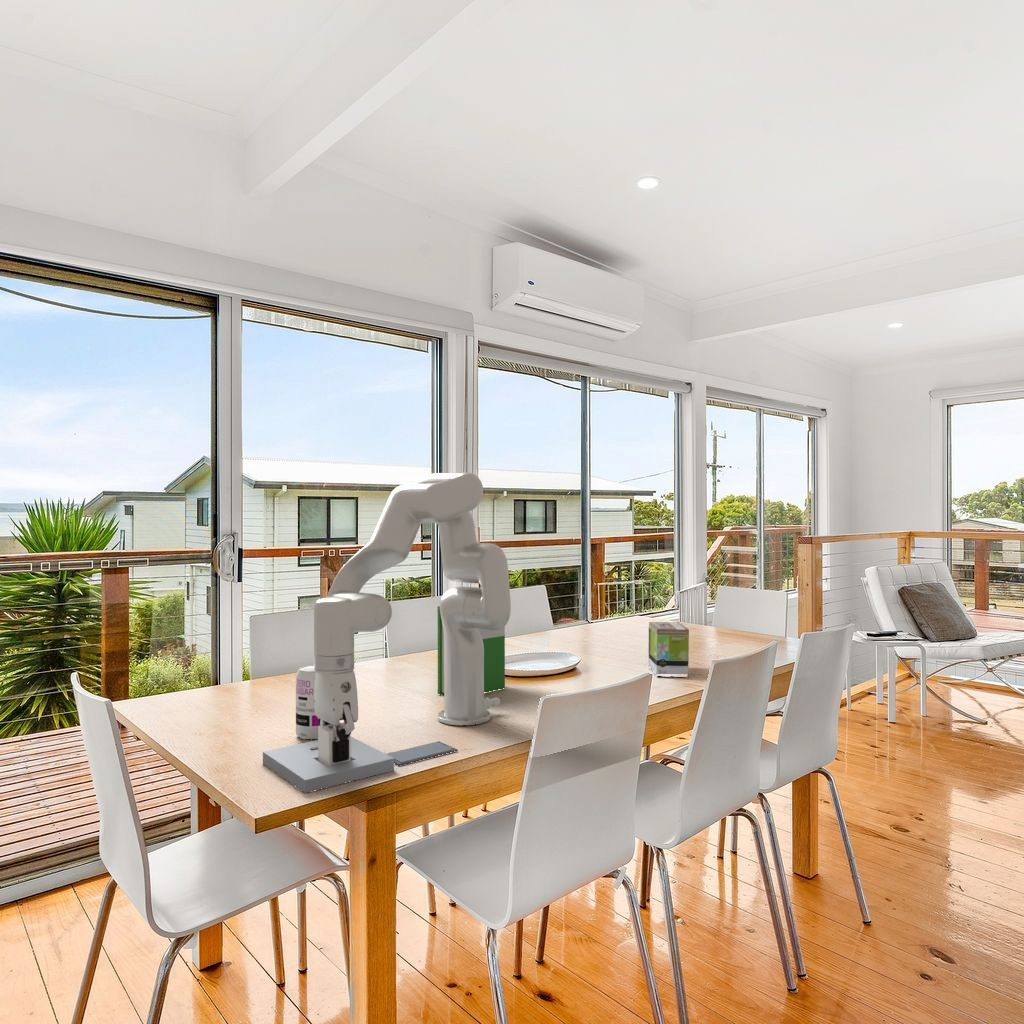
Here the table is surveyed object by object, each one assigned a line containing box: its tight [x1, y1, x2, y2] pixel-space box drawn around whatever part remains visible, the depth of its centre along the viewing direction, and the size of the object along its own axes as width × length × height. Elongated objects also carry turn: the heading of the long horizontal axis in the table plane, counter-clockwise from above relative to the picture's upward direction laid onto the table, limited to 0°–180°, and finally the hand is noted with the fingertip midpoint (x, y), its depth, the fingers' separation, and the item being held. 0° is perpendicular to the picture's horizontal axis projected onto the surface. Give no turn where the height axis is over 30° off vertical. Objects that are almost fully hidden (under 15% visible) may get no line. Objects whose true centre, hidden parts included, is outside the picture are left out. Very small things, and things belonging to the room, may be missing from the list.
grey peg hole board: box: [262, 735, 395, 794], centre depth 144 cm, size 18×20×3 cm
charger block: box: [317, 724, 351, 766], centre depth 142 cm, size 4×4×7 cm
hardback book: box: [437, 605, 506, 695], centre depth 203 cm, size 18×7×24 cm, turn 131°
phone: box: [386, 740, 459, 767], centre depth 152 cm, size 14×7×1 cm, turn 129°
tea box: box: [647, 621, 690, 676], centre depth 228 cm, size 15×10×15 cm
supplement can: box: [295, 664, 320, 741], centre depth 165 cm, size 8×8×15 cm
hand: (334, 756), depth 142 cm, fingers closed on charger block, 4 cm apart
